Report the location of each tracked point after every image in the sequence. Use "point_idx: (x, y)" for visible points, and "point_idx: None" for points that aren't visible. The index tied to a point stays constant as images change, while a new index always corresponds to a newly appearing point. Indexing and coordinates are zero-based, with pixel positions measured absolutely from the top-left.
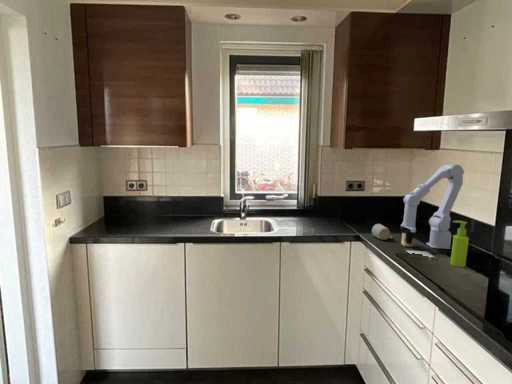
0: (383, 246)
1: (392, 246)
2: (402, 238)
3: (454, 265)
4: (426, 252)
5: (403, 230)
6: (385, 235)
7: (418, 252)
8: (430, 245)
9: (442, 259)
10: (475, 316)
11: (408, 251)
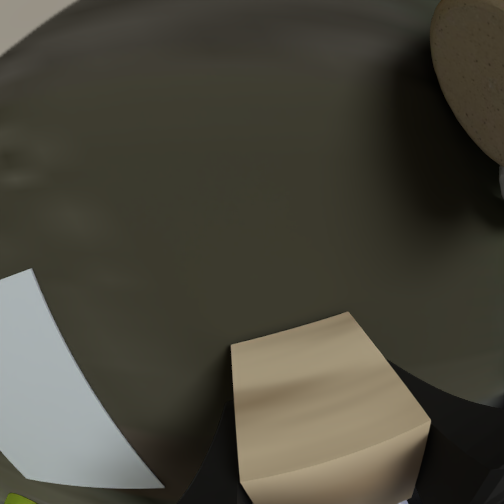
0: (93, 66)
1: (153, 187)
2: (343, 374)
3: (7, 496)
4: (132, 480)
5: (456, 466)
6: (487, 97)
7: (82, 436)
8: None
9: (59, 498)
10: None
11: (45, 365)
